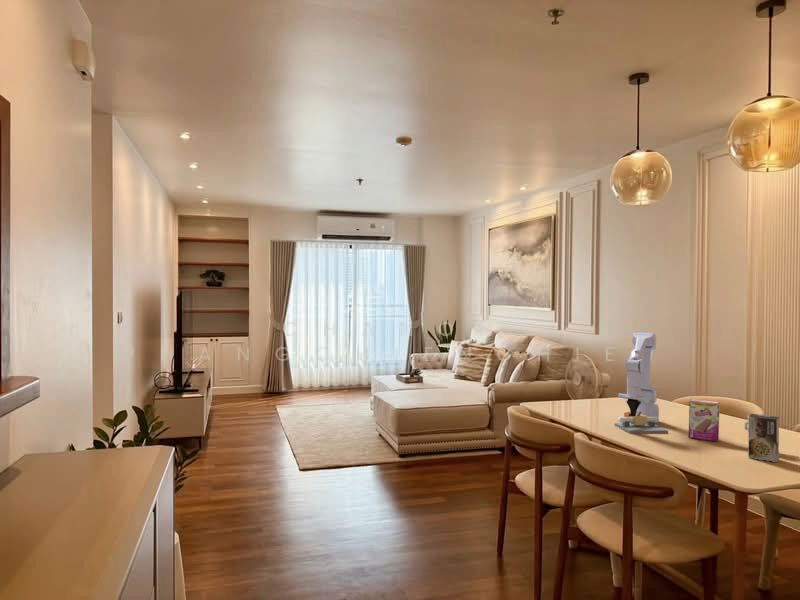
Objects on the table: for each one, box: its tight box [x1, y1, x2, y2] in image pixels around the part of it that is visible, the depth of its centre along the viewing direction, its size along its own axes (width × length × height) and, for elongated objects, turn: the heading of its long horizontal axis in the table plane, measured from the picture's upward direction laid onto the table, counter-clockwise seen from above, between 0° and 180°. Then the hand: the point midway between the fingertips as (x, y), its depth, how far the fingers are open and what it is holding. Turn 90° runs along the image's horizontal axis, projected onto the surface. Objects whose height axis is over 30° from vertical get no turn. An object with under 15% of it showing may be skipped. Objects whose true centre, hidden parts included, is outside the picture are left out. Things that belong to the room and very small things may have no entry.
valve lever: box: [623, 411, 641, 418], centre depth 241 cm, size 12×2×2 cm, turn 128°
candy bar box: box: [688, 398, 721, 443], centre depth 226 cm, size 11×5×16 cm, turn 56°
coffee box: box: [747, 413, 780, 463], centre depth 199 cm, size 9×6×16 cm
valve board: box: [614, 414, 669, 434], centre depth 242 cm, size 18×14×6 cm
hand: (633, 416), depth 238 cm, fingers closed
